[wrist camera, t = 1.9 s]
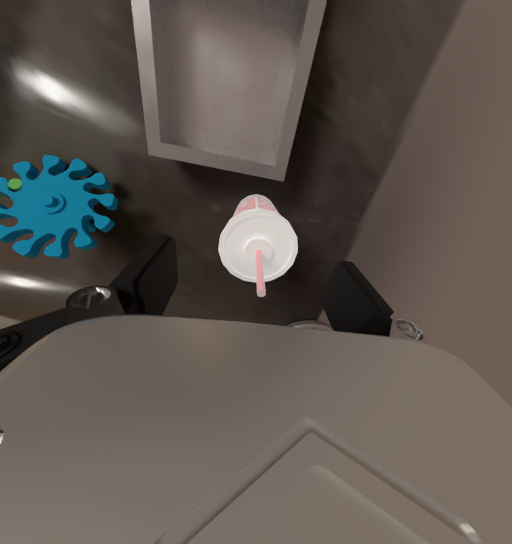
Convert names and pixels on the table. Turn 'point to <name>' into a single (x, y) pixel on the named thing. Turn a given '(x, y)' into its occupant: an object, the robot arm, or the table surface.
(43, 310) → the table surface
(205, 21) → the gray tray
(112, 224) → the blue lobed piece
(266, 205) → the beverage cup
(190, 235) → the table surface
